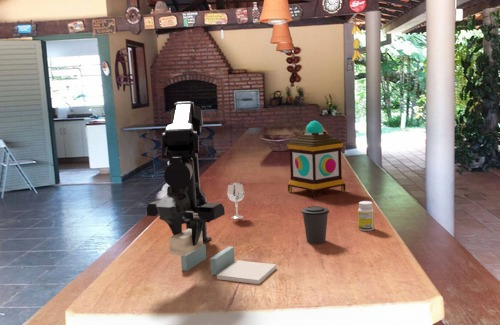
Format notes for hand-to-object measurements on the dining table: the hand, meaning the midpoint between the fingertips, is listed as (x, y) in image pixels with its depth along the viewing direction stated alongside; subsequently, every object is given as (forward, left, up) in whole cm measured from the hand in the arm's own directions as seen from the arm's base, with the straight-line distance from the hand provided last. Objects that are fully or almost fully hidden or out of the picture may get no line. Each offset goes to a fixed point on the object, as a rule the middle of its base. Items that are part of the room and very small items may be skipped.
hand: (187, 244), depth 125 cm
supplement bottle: (-54, +31, -9) cm, 63 cm away
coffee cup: (-38, +20, -9) cm, 44 cm away
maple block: (0, 0, -1) cm, 1 cm away
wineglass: (-57, -15, -9) cm, 59 cm away
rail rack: (-10, 0, -9) cm, 13 cm away
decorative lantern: (-104, -1, -9) cm, 104 cm away
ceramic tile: (-8, +12, -9) cm, 17 cm away
